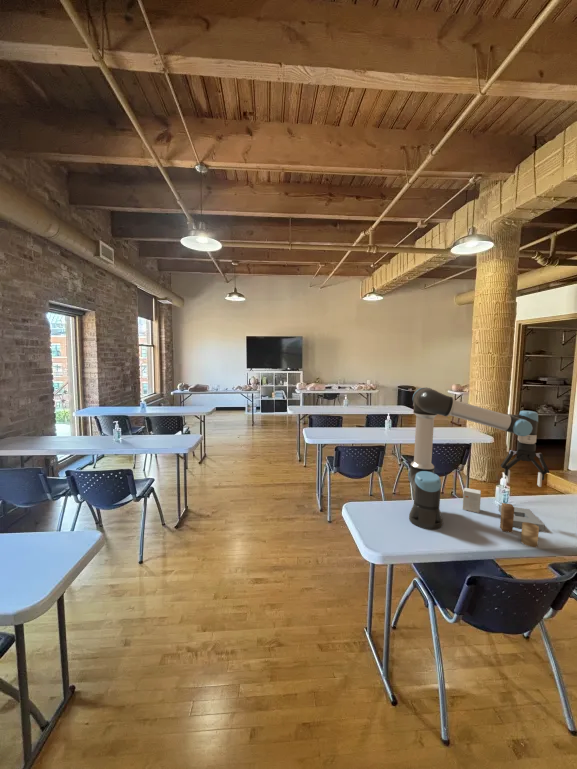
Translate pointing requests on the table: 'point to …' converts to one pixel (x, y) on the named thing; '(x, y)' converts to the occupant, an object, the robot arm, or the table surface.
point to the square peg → (507, 517)
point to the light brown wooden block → (529, 534)
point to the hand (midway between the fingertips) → (523, 484)
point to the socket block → (524, 518)
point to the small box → (471, 500)
